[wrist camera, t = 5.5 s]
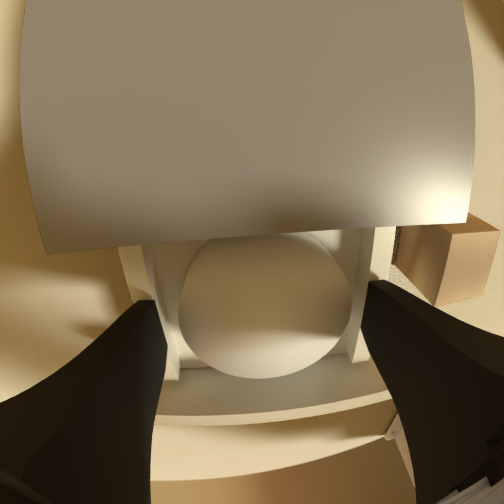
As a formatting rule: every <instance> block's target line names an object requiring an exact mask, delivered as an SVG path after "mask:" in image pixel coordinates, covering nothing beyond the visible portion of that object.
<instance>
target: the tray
mask: <svg viewBox="0 0 504 504" xmlns="http://www.w3.org/2000/svg"><path fill="white" fill-rule="evenodd" d="M395 232H396V226H391V227H373V228H356V229H340V230H324V231H309V233H311V234H312V235H314V236H315V237H316V238H317V239H318V240H319V241H321V242H322V244H323V245H324V246H325V247H326V249H327V250H328V251H329V253H330V254H331V256H332V257H333V259H334V260H335V261H336V263H337V264H338V266H339V267H340V269H341V270H342V272H343V274H344V275H345V277H346V279H347V282H348V284H349V287H350V292H351V298H352V307H351V314H350V318H349V321H348V324H347V327H346V329H345V331H344V333H343V334H342V336H341V338H340V339H339V341H338V342H337V343H336V344H335V346H334V347H333V348H332V349H331V350H330V351H329V352H328V353H327V354H326V355H324V356H323V357H322V358H321V359H319V360H318V361H316V362H315V363H313V364H312V365H310V366H308V367H306V368H304V369H302V370H299V371H297V372H294V373H291V374H288V375H284V376H280V377H274V378H265V379H253V378H243V377H237V376H233V375H230V374H226V373H224V372H221V371H219V370H217V369H215V368H213V367H211V366H209V365H208V364H206V363H205V362H203V361H202V360H201V359H200V358H198V357H197V356H196V355H195V354H194V353H193V351H192V350H191V349H190V348H189V346H188V345H187V343H186V342H185V340H184V338H183V336H182V333H181V330H180V327H179V321H178V305H179V301H180V297H181V293H182V289H183V285H184V281H185V277H186V273H187V270H188V268H189V265H190V263H191V261H192V259H193V258H194V256H195V254H196V253H197V252H198V251H199V249H200V248H201V247H202V246H203V245H204V244H205V243H206V242H207V241H208V240H209V239H203V240H191V241H179V242H168V243H157V244H146V245H135V246H124V247H117V248H118V252H119V256H120V260H121V264H122V268H123V272H124V275H125V279H126V282H127V286H128V289H129V293H130V296H131V299H132V303H133V304H134V303H135V302H137V301H138V300H155V302H156V306H157V310H158V313H159V317H160V321H161V324H162V327H163V331H164V334H165V338H166V341H167V344H168V350H167V361H166V371H165V375H164V380H163V384H162V389H161V393H160V398H159V402H158V407H157V411H156V416H155V421H154V425H172V426H221V425H241V424H255V423H266V422H276V421H284V420H292V419H299V418H306V417H312V416H318V415H324V414H329V413H334V412H339V411H344V410H349V409H353V408H358V407H362V406H366V405H370V404H374V403H378V402H382V401H385V400H389V399H392V397H391V395H390V393H389V391H388V389H387V387H386V385H385V383H384V381H383V379H382V377H381V375H380V373H379V371H378V369H377V367H376V365H375V363H374V361H373V359H372V357H371V355H370V353H369V351H368V349H367V346H366V343H365V341H364V338H363V335H362V332H361V329H360V326H361V321H362V316H363V310H364V305H365V299H366V293H367V287H368V281H375V280H383V279H384V280H386V281H388V277H389V271H390V265H391V259H392V253H393V246H394V239H395Z"/></svg>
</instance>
